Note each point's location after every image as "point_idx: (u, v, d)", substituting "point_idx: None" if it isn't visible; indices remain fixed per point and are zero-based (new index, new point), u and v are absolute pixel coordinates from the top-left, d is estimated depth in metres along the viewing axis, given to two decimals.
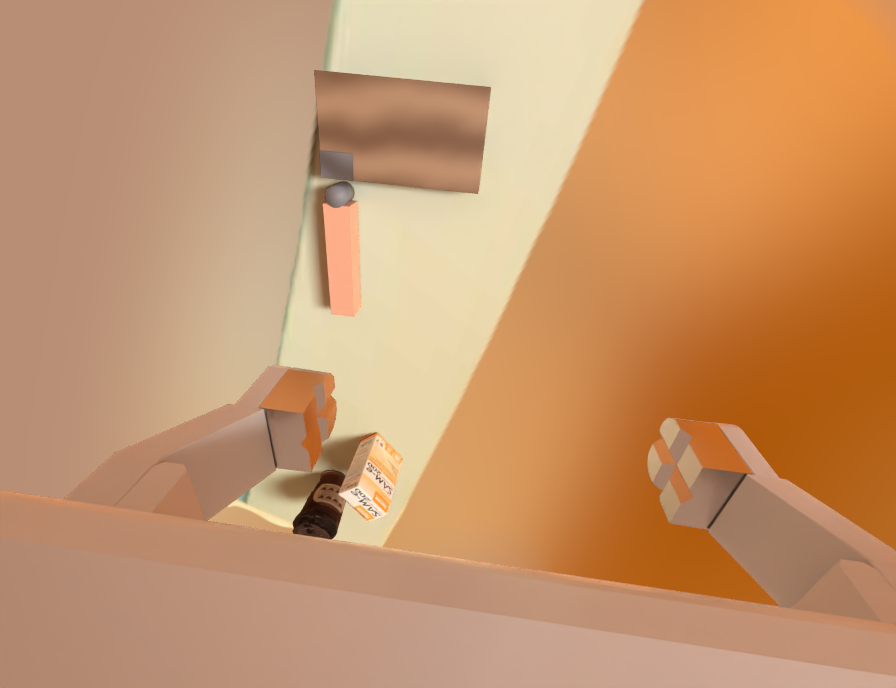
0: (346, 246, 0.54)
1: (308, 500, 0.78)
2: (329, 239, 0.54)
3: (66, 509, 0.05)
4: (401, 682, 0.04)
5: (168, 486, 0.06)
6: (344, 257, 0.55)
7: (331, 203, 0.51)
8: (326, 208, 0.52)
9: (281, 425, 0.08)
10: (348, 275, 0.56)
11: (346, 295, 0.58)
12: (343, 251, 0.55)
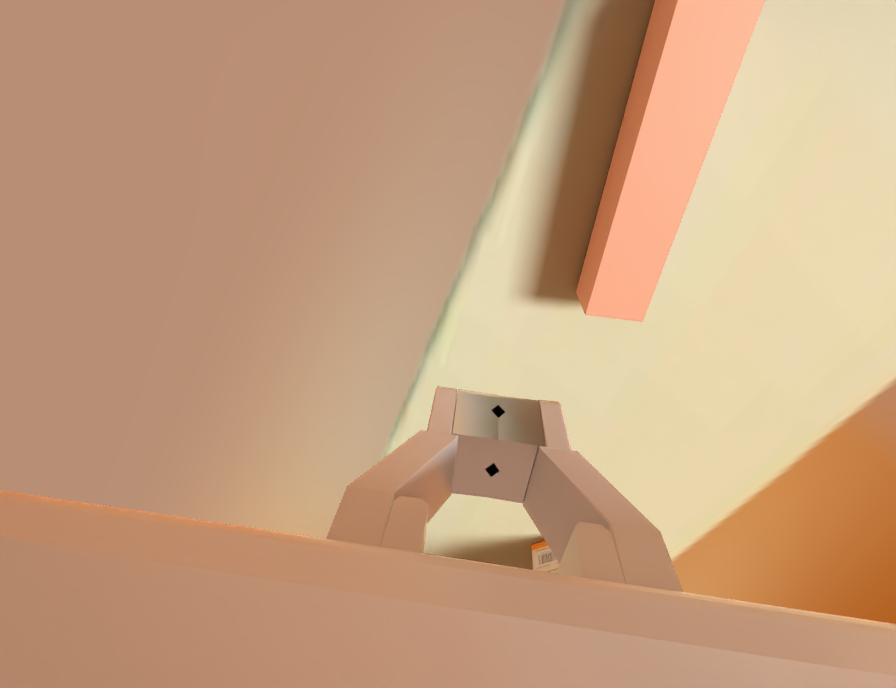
0: (705, 122, 0.19)
1: None
2: (660, 102, 0.19)
3: (66, 509, 0.05)
4: (401, 682, 0.04)
5: (419, 523, 0.06)
6: (683, 159, 0.20)
7: None
8: None
9: (470, 451, 0.08)
10: (672, 213, 0.21)
11: (644, 268, 0.23)
12: (687, 140, 0.20)
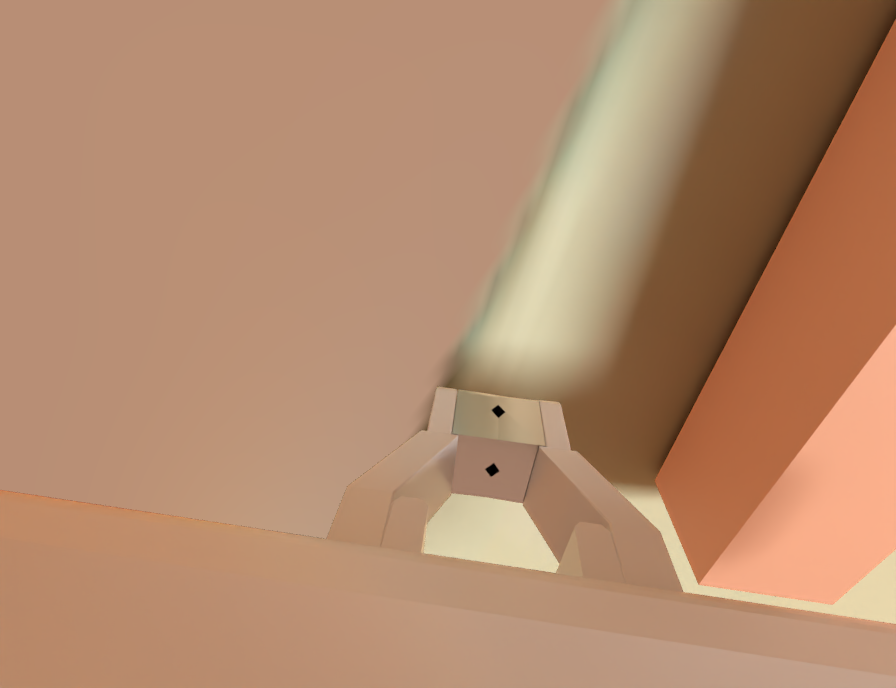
0: None
1: None
2: None
3: (66, 509, 0.05)
4: (401, 682, 0.04)
5: (419, 523, 0.06)
6: None
7: None
8: None
9: (470, 451, 0.08)
10: None
11: (874, 520, 0.09)
12: None
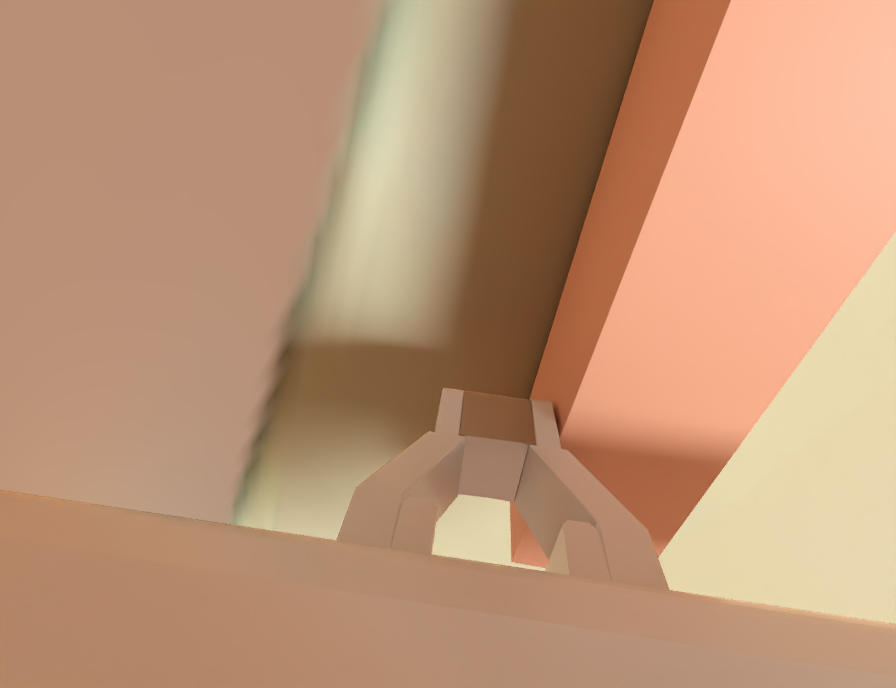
0: None
1: None
2: (750, 70, 0.05)
3: (66, 509, 0.05)
4: (401, 682, 0.04)
5: (429, 524, 0.06)
6: (798, 266, 0.06)
7: None
8: None
9: (478, 452, 0.08)
10: (740, 400, 0.08)
11: (650, 500, 0.09)
12: (825, 210, 0.06)
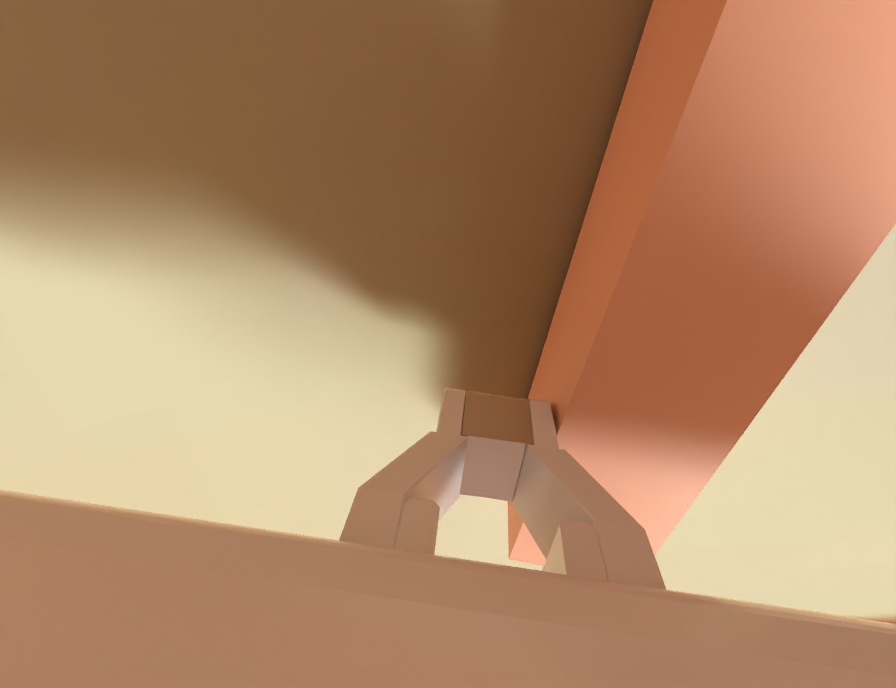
0: None
1: None
2: (744, 72, 0.05)
3: (66, 509, 0.05)
4: (401, 682, 0.04)
5: (431, 525, 0.06)
6: (792, 266, 0.06)
7: None
8: None
9: (480, 452, 0.08)
10: (736, 399, 0.08)
11: (647, 499, 0.09)
12: (819, 211, 0.06)
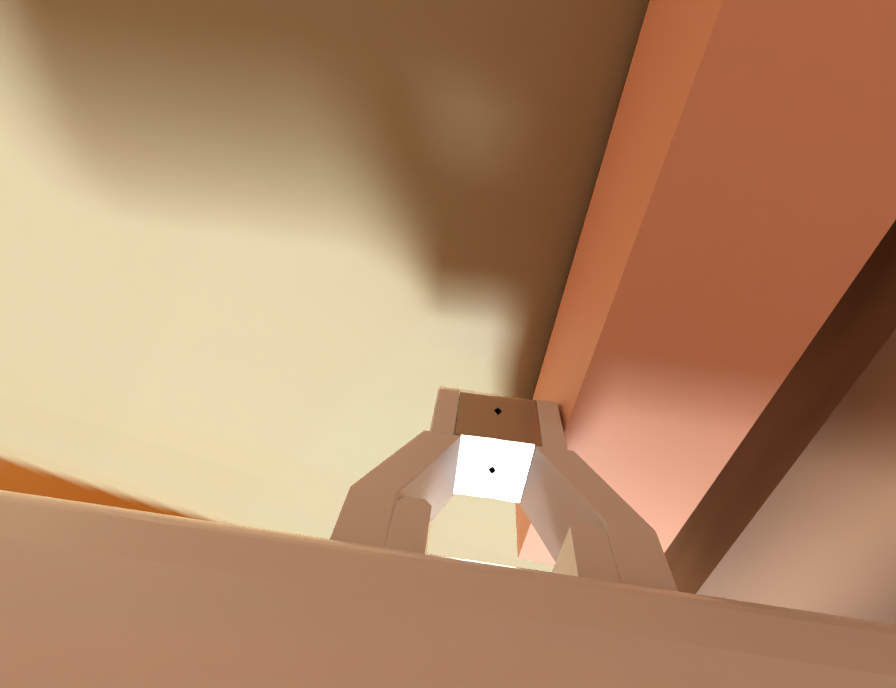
0: None
1: None
2: (746, 60, 0.05)
3: (66, 509, 0.05)
4: (401, 682, 0.04)
5: (423, 523, 0.06)
6: (799, 255, 0.06)
7: None
8: None
9: (473, 451, 0.08)
10: (744, 391, 0.08)
11: (656, 494, 0.09)
12: (825, 199, 0.06)
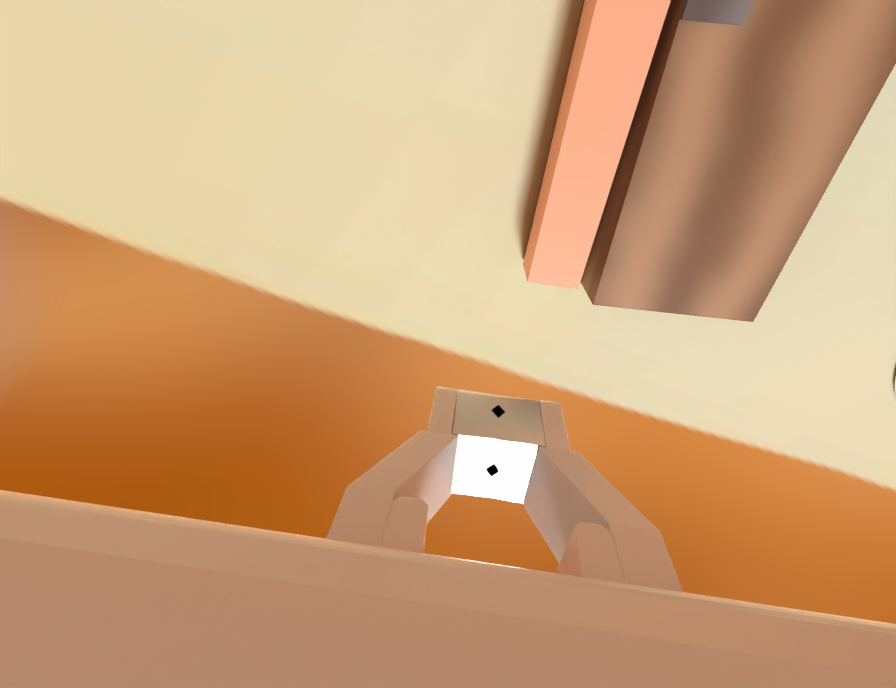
0: (625, 106, 0.22)
1: None
2: (586, 87, 0.21)
3: (66, 509, 0.05)
4: (401, 682, 0.04)
5: (419, 523, 0.06)
6: (608, 139, 0.23)
7: None
8: None
9: (470, 451, 0.08)
10: (601, 189, 0.24)
11: (578, 239, 0.26)
12: (611, 122, 0.22)
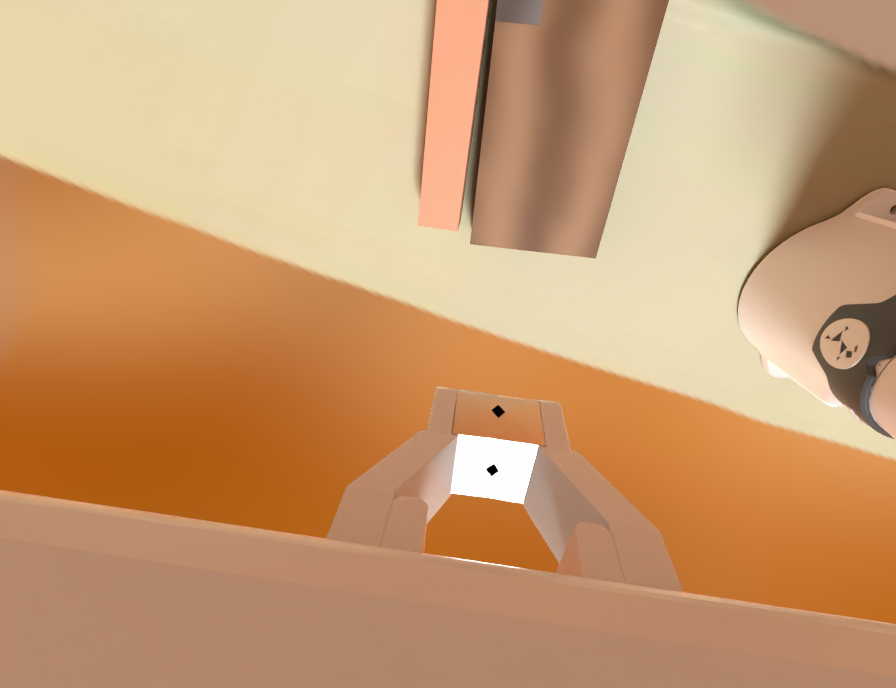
0: (469, 85, 0.29)
1: None
2: (438, 70, 0.29)
3: (66, 509, 0.05)
4: (401, 682, 0.04)
5: (419, 523, 0.06)
6: (460, 110, 0.30)
7: None
8: None
9: (470, 451, 0.08)
10: (461, 149, 0.32)
11: (451, 189, 0.33)
12: (460, 97, 0.30)
